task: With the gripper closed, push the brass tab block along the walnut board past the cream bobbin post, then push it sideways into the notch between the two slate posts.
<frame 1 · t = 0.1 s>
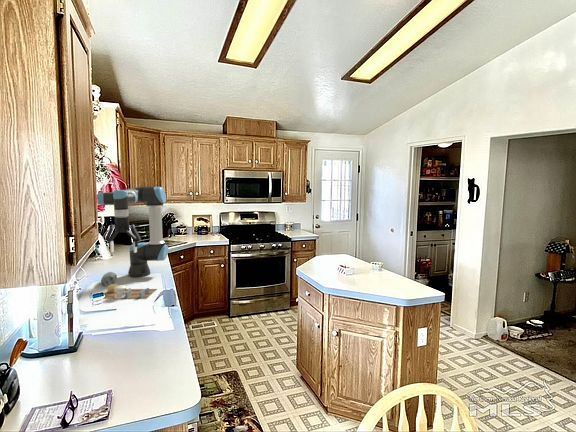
hand: (123, 252, 207), 28 cm above the countertop, fingers open, 13 cm apart
bobbin: (120, 296, 208), resting on board
spool: (109, 285, 235), on the countertop
board: (128, 295, 214), on the countertop
tab: (112, 291, 218), point 1 cm above the countertop, touching board
notch block: (135, 296, 209), resting on board
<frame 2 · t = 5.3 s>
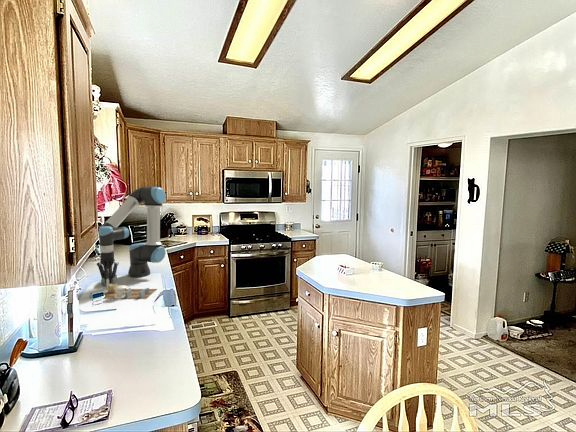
hand: (109, 288, 218), 3 cm above the countertop, fingers closed
tab: (113, 291, 218), point 1 cm above the countertop, touching gripper
everything else where it was.
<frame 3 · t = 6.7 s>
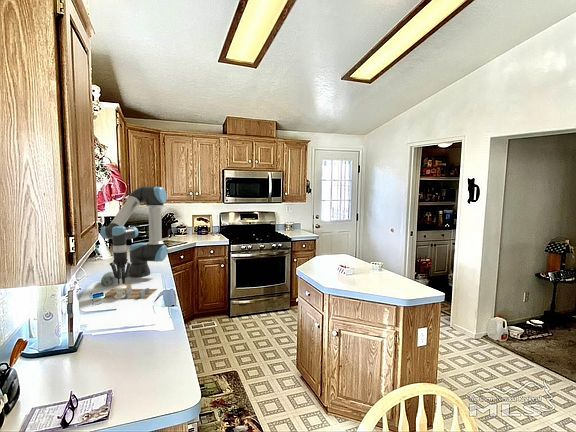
hand: (122, 288, 218), 3 cm above the countertop, fingers closed
tab: (126, 291, 218), point 1 cm above the countertop, touching gripper
everything else where it was.
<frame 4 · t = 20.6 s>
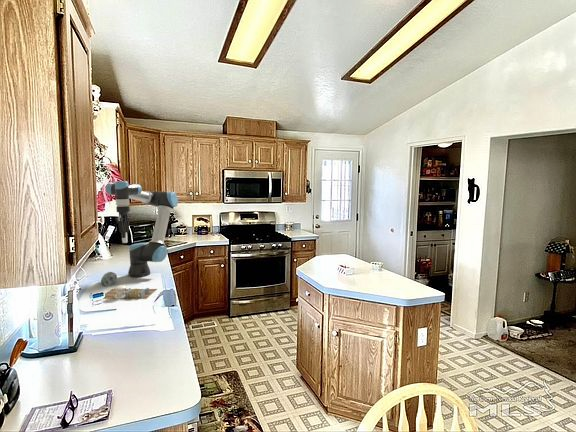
hand: (125, 242, 223), 30 cm above the countertop, fingers closed
tab: (135, 296, 209), point 1 cm above the countertop, touching board
everything else where it was.
at the end: tab inside the target area (0.4 cm from its centre), point 1.2 cm above the countertop; tab moved 20.0 cm from its start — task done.
